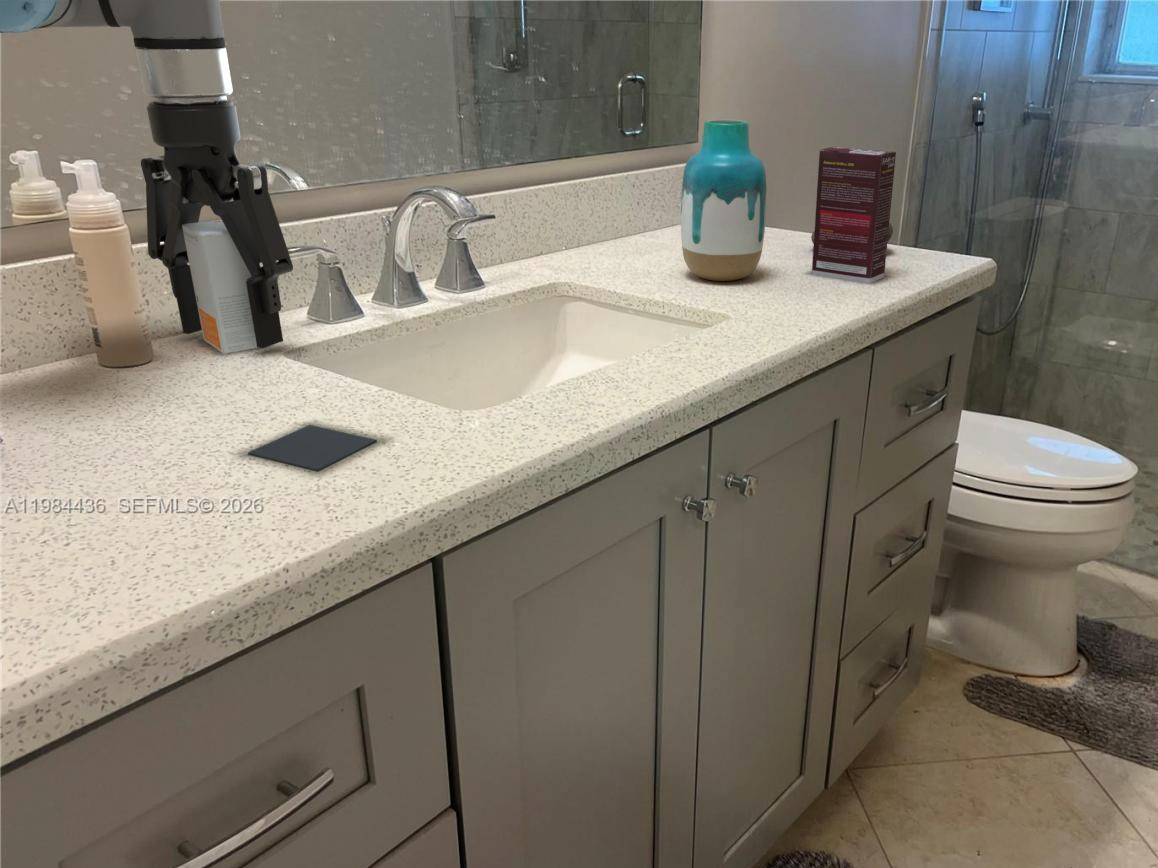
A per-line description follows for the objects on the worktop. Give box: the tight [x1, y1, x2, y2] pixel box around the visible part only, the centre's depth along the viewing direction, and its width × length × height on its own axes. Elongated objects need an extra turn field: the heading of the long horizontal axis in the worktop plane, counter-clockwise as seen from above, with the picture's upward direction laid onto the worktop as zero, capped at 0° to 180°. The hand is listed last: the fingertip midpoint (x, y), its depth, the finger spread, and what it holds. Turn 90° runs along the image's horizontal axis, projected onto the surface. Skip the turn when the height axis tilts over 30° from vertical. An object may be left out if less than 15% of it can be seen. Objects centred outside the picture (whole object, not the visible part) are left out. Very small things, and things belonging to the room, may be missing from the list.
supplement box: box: [811, 146, 897, 284], centre depth 132 cm, size 9×5×16 cm, turn 56°
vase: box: [680, 118, 767, 282], centre depth 129 cm, size 11×11×19 cm
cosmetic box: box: [182, 219, 260, 355], centre depth 102 cm, size 6×4×12 cm
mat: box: [247, 424, 378, 473], centre depth 81 cm, size 7×7×1 cm
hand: (232, 337), depth 105 cm, fingers open, 9 cm apart
